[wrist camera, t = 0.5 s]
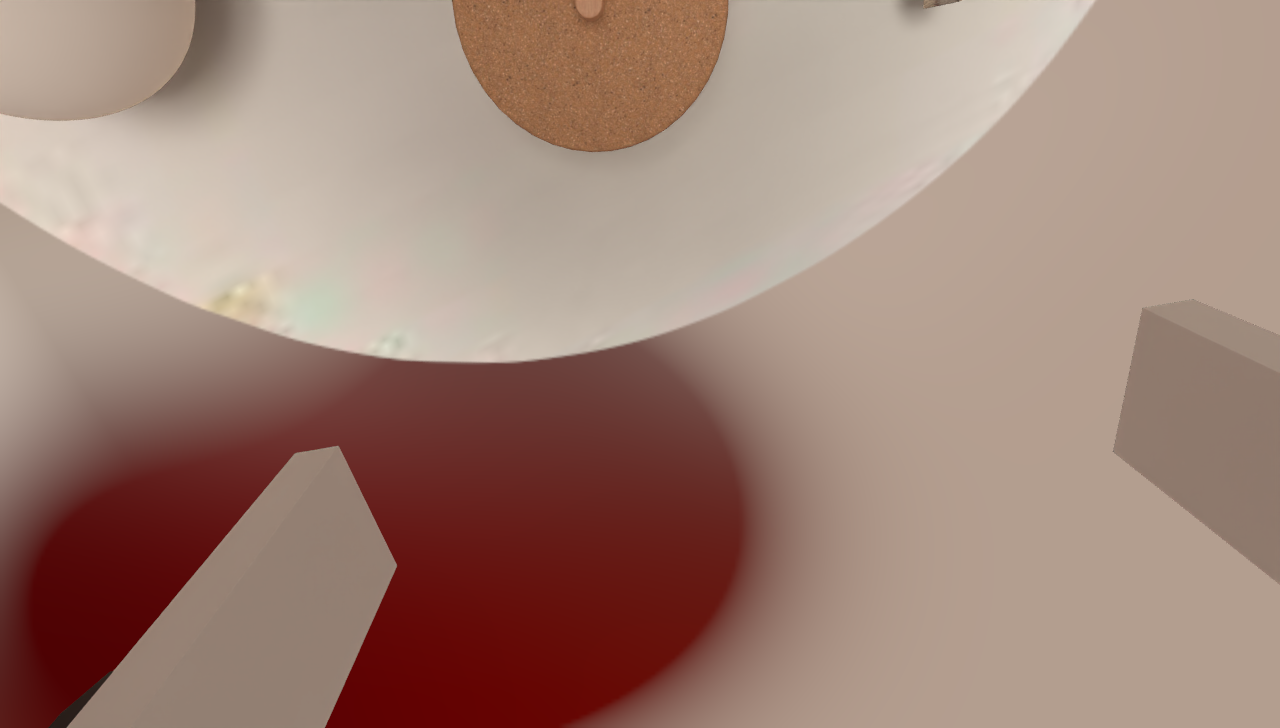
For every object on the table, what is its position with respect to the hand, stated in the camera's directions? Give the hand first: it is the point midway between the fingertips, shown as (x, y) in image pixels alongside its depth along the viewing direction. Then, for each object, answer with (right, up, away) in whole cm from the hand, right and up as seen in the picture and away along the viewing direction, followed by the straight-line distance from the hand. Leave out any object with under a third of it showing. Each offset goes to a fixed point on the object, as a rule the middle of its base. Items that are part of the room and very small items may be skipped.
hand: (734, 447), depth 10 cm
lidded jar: (-4, +19, +20) cm, 28 cm away
